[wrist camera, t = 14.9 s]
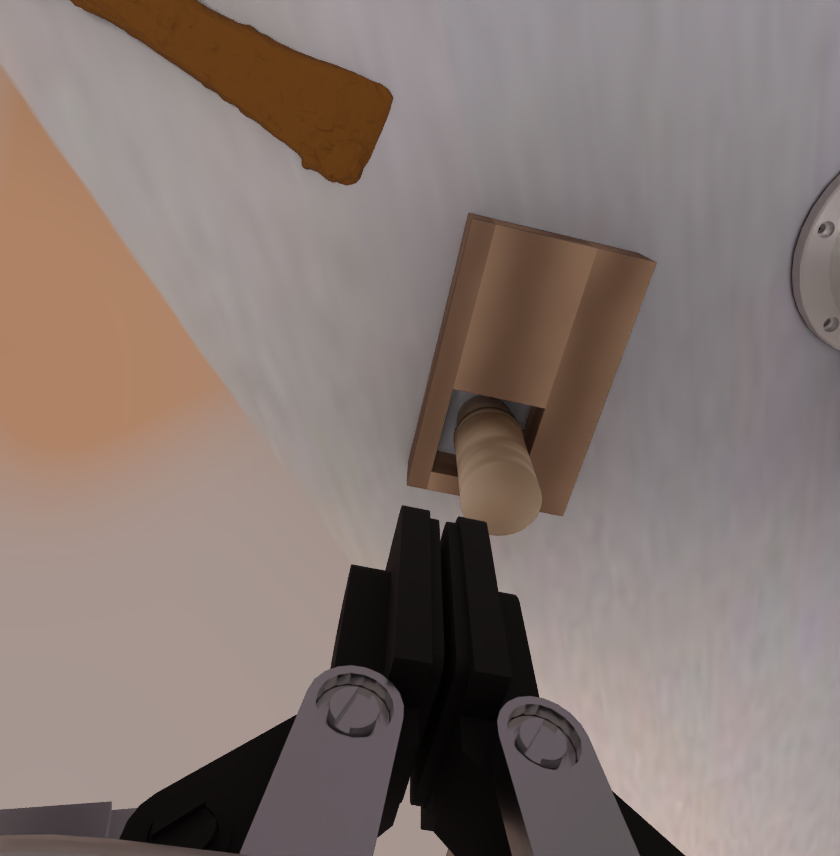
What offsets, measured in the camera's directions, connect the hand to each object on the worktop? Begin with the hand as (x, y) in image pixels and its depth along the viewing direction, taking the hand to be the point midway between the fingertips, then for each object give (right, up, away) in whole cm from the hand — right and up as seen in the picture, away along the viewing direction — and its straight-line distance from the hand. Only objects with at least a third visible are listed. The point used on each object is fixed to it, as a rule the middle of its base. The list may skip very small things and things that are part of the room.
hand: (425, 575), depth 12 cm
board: (+6, +7, +27) cm, 28 cm away
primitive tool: (-10, +23, +20) cm, 32 cm away
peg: (+4, +3, +28) cm, 29 cm away
